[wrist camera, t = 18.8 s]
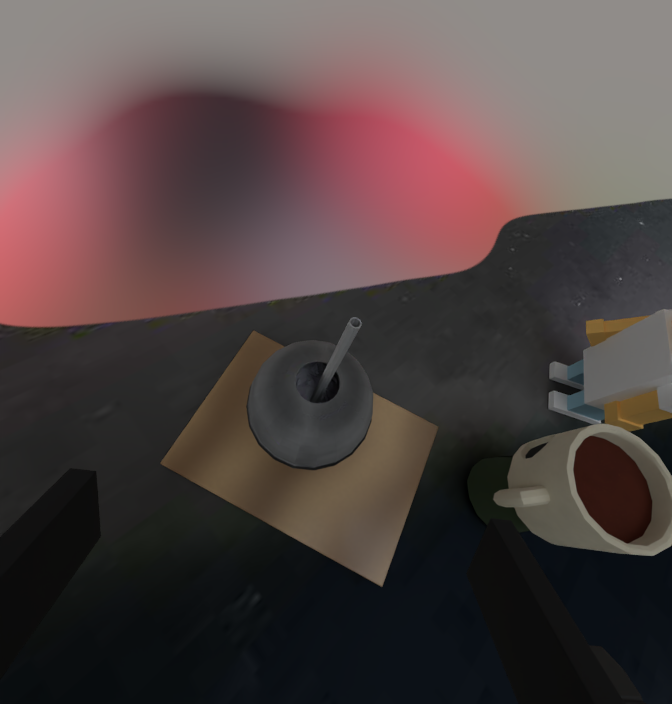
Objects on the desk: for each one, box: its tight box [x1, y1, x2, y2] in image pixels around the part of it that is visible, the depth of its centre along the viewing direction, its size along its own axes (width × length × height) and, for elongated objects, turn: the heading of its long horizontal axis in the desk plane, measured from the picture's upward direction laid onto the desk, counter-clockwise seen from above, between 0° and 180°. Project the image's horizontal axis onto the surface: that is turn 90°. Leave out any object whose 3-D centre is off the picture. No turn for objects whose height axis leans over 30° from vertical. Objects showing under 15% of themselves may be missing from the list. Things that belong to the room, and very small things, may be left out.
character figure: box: [548, 309, 672, 431], centre depth 29 cm, size 8×10×18 cm
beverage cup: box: [246, 317, 373, 470], centre depth 21 cm, size 7×7×20 cm
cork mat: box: [160, 331, 439, 587], centre depth 31 cm, size 20×14×1 cm
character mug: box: [467, 424, 672, 556], centre depth 26 cm, size 11×7×13 cm, turn 97°
